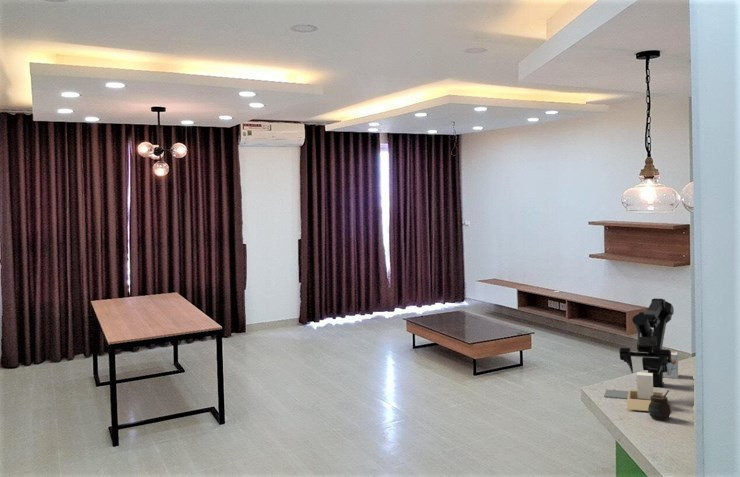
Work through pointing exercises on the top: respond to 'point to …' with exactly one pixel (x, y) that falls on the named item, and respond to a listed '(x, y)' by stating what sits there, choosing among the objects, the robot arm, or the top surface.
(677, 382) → the top surface
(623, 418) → the top surface
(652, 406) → the mate gourd
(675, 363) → the light bulb box
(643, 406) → the tan rectangular open frame
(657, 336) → the robot arm
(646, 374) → the box
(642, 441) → the top surface
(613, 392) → the mat
